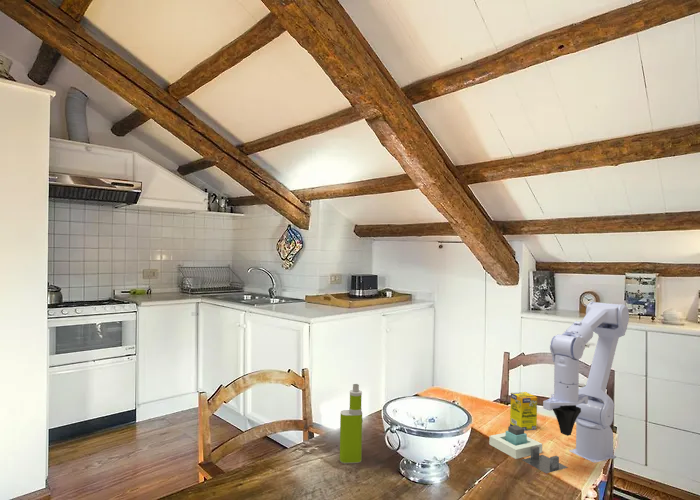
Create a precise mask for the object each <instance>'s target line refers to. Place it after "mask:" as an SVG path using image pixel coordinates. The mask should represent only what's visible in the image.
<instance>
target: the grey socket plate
mask: <svg viewBox="0 0 700 500" xmlns="http://www.w3.org/2000/svg"><path fill="white" fill-rule="evenodd" d="M521 461H522V462H525V463H526V464H528V465H530V466H532V467H534V468H535V469H536V470H537V469H538V470H539V471H541V472H543V473H545V474H549V473H552V472H557V471H561V470H563V469H568V468H569V467H568V466H566V465H564V464H562V463H560V456H558V455H554V456H550V457H548V456H546V455H544V454H540V453H539V447H538V446H535V447H531V455H530V457H528V458H522V459H521Z"/></svg>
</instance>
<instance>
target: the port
mask: <svg viewBox="0 0 700 500" xmlns="http://www.w3.org/2000/svg"><path fill="white" fill-rule="evenodd" d="M488 442H489V443H488V444H489V445H490V446H492V447H494V448H495V449H497V450H499V451H500V452H503V453H505V454H506V455H508V456H509V457H511V458H513V459H515V460H518V459H523V458H525V457H531V447H535V446H538V447H539V454H542V453H543V443H541V442H539V441H537V440H536V439H533V438H531V437H529V436H527V443H526V444H521V445H517V446H515V445H513V444H511V443H509V442H508V441H506V432H502V433H497V434H492V435H489V441H488Z"/></svg>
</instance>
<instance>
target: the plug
mask: <svg viewBox="0 0 700 500" xmlns="http://www.w3.org/2000/svg"><path fill="white" fill-rule="evenodd" d="M505 433H506V441H508V442H509V443H511V444H513V445H515V446H517V445H521V444H526V443H527V437H528V434H527V433H525V431H524V428H521V427H519V426H517V425H514V426H510V425H509V426H508V429H507V430H505Z"/></svg>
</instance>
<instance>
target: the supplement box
mask: <svg viewBox="0 0 700 500" xmlns="http://www.w3.org/2000/svg"><path fill="white" fill-rule="evenodd" d="M509 409H510V413H509V414H510V415H509V416H510V417H509V426H514V425H517V426H519V427H521V428H524V432H525V431H533V430H535V431H537V429H538V428H537V427H538V426H537V425H538V421H537V420H538V396H536V395H534V394H531V393H529V392H526V391H524V392H523V391H522V392H511V393H510V407H509Z"/></svg>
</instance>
